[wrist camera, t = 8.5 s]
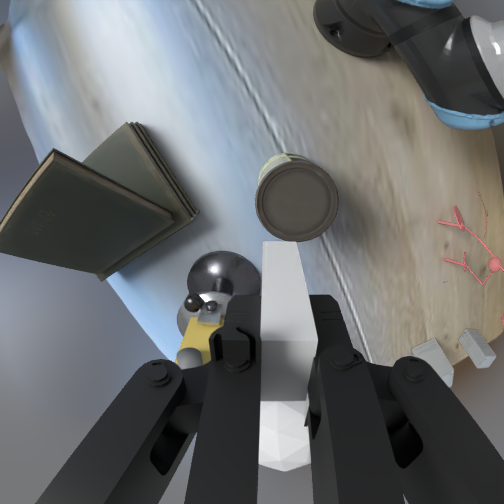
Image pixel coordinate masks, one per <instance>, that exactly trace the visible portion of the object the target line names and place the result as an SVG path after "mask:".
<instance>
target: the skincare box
mask: <svg viewBox="0 0 504 504" xmlns="http://www.w3.org/2000/svg"><path fill="white" fill-rule="evenodd" d="M459 342H460V343H461V345H462V346H463V348H464V349H465V351H466V352H467V354H468V355H469V356H470V358H471V359H472V361H473V363H474V364H475V366H476V367H477V368H487V367H489V366H490V365H491V363H492V362H493V361H494V359H495V358H496V355H495V353H494V352H493V351H492V349H491V348H490V346H489V345H488V344H487V342H486V341H485V340H484V338H483V337H482V336H481V334H480V333H479V332H478V331H477V330H473V329H465V330H464V332H463V334H462V335H461V337H460V338H459Z"/></svg>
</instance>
